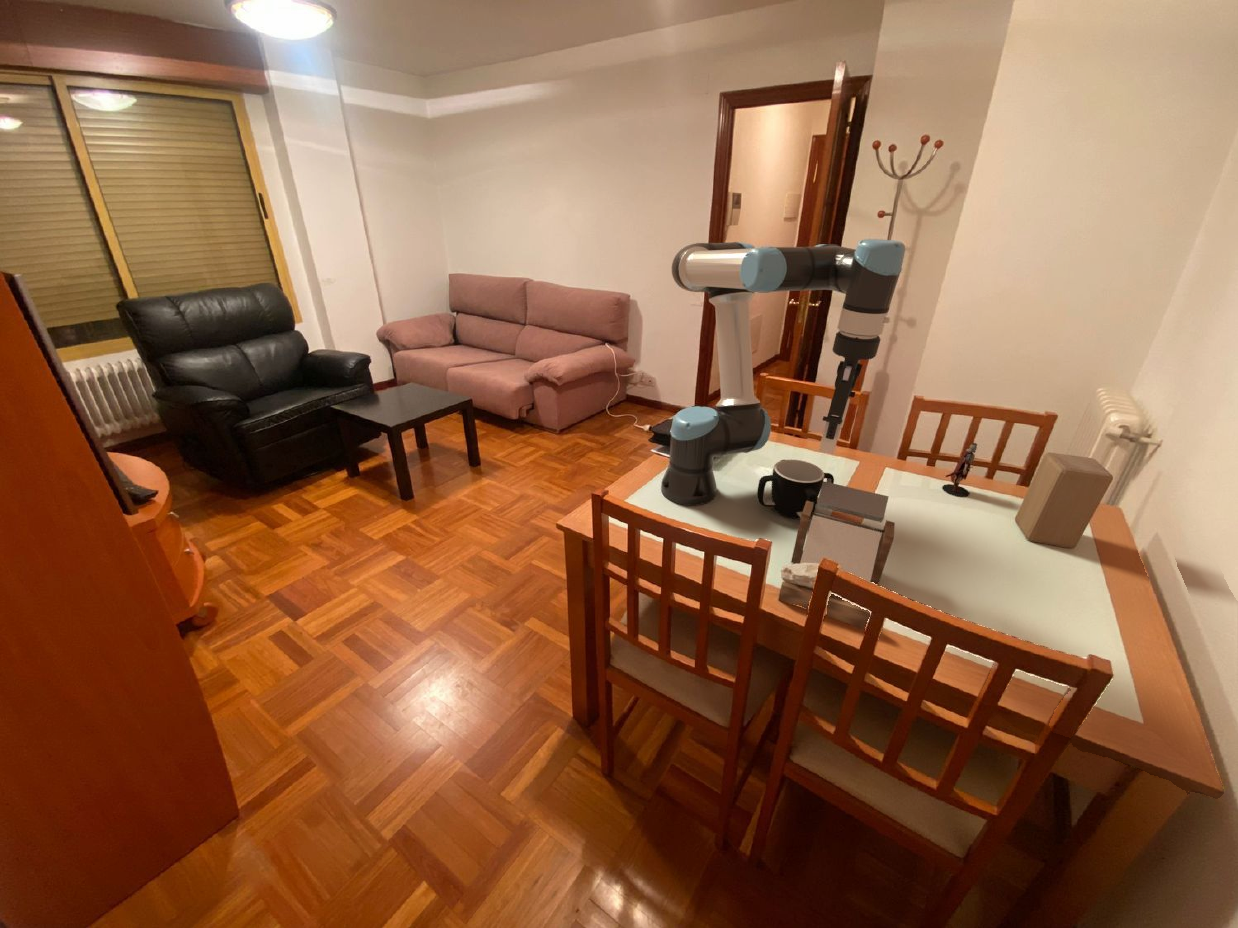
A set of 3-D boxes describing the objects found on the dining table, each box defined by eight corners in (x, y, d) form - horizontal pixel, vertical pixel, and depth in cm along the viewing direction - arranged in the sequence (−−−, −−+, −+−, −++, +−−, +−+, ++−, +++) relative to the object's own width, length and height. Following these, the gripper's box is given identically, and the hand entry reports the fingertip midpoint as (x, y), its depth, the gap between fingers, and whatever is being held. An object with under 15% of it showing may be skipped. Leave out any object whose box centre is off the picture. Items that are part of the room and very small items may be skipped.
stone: (829, 580, 106) (856, 614, 98) (774, 586, 105) (797, 622, 96) (837, 551, 103) (865, 585, 94) (780, 558, 101) (804, 592, 92)
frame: (778, 600, 101) (789, 548, 95) (795, 547, 116) (806, 500, 110) (872, 631, 94) (891, 578, 88) (878, 571, 109) (894, 522, 103)
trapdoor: (799, 566, 107) (799, 563, 104) (821, 485, 112) (822, 480, 109) (867, 586, 101) (869, 584, 99) (887, 500, 106) (889, 496, 104)
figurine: (969, 499, 137) (989, 450, 130) (939, 492, 140) (957, 444, 133) (968, 488, 142) (987, 441, 135) (939, 482, 145) (956, 435, 138)
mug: (778, 487, 141) (786, 449, 135) (834, 510, 131) (844, 470, 125) (747, 509, 131) (753, 469, 125) (804, 536, 121) (814, 493, 115)
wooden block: (1058, 527, 125) (1095, 456, 116) (1076, 550, 117) (1117, 476, 108) (1012, 519, 128) (1044, 450, 119) (1026, 541, 120) (1061, 468, 110)
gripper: (876, 354, 79) (843, 469, 89) (885, 322, 98) (857, 420, 109) (826, 346, 82) (800, 459, 92) (845, 317, 101) (821, 413, 112)
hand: (831, 438), depth 101 cm, fingers open, 13 cm apart
